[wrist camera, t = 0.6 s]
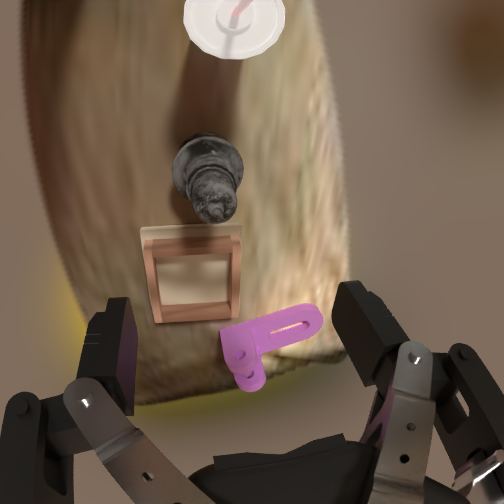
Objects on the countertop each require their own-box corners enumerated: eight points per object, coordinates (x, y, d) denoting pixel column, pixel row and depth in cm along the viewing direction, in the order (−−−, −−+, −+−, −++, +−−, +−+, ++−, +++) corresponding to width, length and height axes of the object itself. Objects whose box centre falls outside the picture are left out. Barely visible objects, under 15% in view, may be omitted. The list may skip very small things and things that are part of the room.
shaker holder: (141, 227, 31) (137, 242, 28) (240, 222, 33) (245, 236, 30) (153, 311, 37) (152, 328, 34) (237, 305, 38) (241, 322, 36)
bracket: (231, 354, 43) (239, 395, 37) (219, 328, 40) (226, 371, 34) (321, 325, 44) (339, 362, 38) (317, 297, 40) (337, 335, 35)
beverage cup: (270, 25, 23) (339, -6, 11) (228, 76, 25) (264, 81, 13) (213, -12, 20) (238, -77, 8) (169, 40, 22) (153, 11, 11)
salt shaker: (209, 201, 31) (223, 274, 21) (160, 166, 28) (146, 225, 18) (250, 155, 29) (287, 207, 19) (201, 116, 26) (211, 145, 16)
